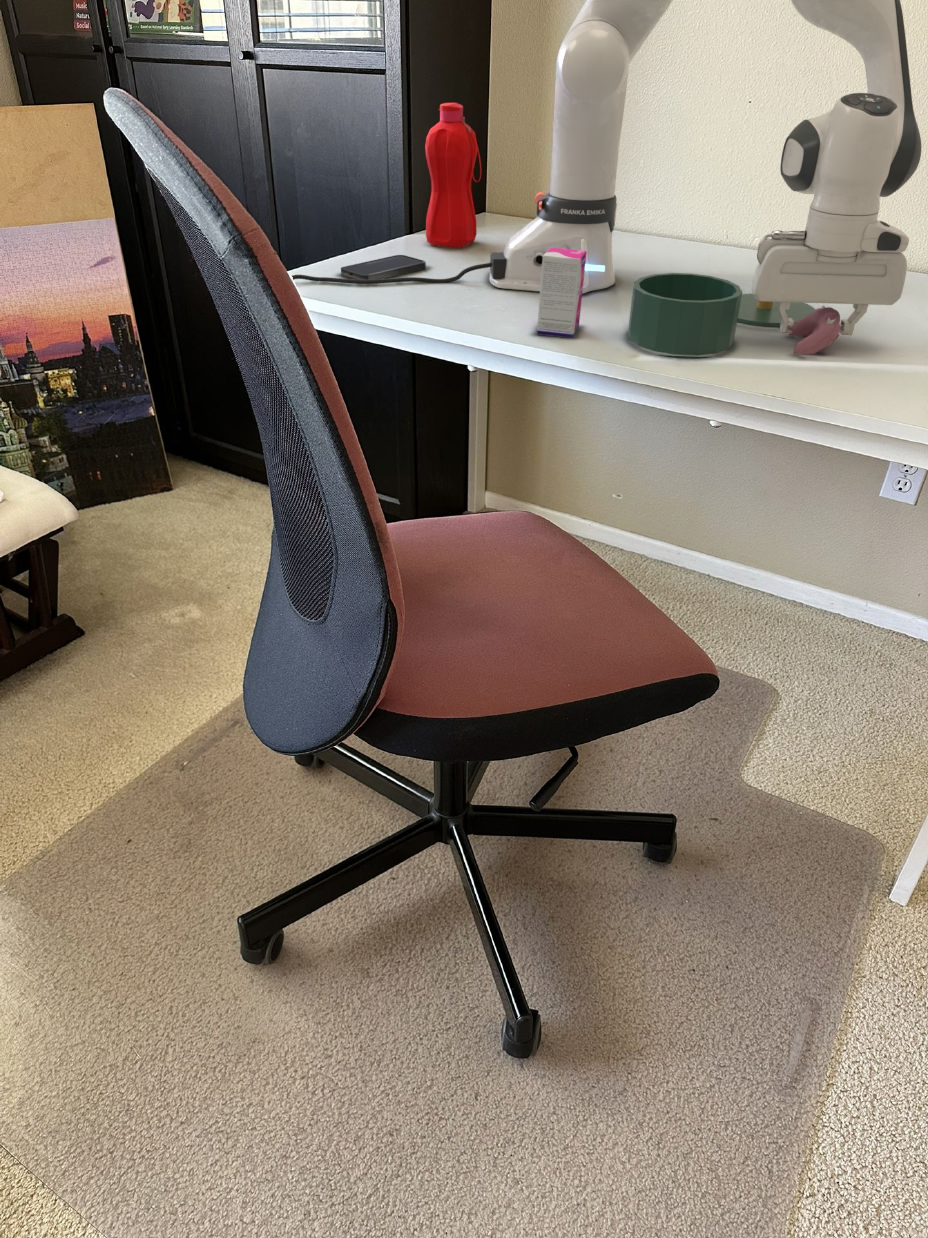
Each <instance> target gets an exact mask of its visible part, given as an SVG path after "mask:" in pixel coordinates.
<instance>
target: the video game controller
mask: <svg viewBox="0 0 928 1238" xmlns="http://www.w3.org/2000/svg"><path fill="white" fill-rule="evenodd" d="M840 314H841V313H840V312H839V311H837V310H836V309H834V308H833V307H829V306H827V307H826V306H825V305H824V304H823V305H821V307H819V308H818V307H817V308H816V309H815V311H814V312H813V313H811V314H810V315H809V316H807V317H805V318H804V319H802V320H800V321H798V322H797V323H795V324H794V326H793V327H792V329H793V331H792V333H788V335H789V336H792V337H796V338H797V337H798V338H802V339H801V340H800V341H799V342H798V343H796V344H795V346H794V348H793V353H794V354H796V355H802V356H803V355H804V356H805V355H806V356H812V355H814V354H817V353H818V352H820V351H822V350H823V349H825V348H826V347H829V346H830V345H831V344H832V343H835V342H837V341H838V340H839V339H840V335H841V334H840V333H839V332H840V329H841V315H840Z"/></svg>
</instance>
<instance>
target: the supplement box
mask: <svg viewBox="0 0 928 1238" xmlns="http://www.w3.org/2000/svg"><path fill="white" fill-rule="evenodd" d="M586 253H587V252H586V251H582V250H570V249H560V248H550V249H549V250H548V251H547V252H546V253H545V254H544V255H543V261H542V273H541V286H540V291H539V299H538V300H539V301H538V314H537V325H536V335H537V336H538V335H539V336H547V337H548V336H549V337H558V338H568V339H569V338H570V339H572V338H573V337H574V335H575V334H576V331H577V330H578V329H579V327H580V320H581V310H582V299H583V294H582V291H583V282H584V272H585V262H586Z"/></svg>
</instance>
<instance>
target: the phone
mask: <svg viewBox="0 0 928 1238" xmlns="http://www.w3.org/2000/svg"><path fill="white" fill-rule="evenodd" d="M426 263H427V261H426V260H424V259H420V258H417V257H412V256H408V255H405V254H396V255H390V256H386V257H382V258H376V259H373V260H368V261H363V262H359V263H355V264H350V265H345V266H344V265H343V266H341V267H340V275H341V276H343V277H346V278H348V279H357V280H374V279H389V278H392V277H396V276H400V275H404V274H409V273H412V272H417V271H421V270H425V269H426V268H427V264H426Z"/></svg>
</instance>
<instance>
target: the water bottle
mask: <svg viewBox="0 0 928 1238" xmlns="http://www.w3.org/2000/svg"><path fill="white" fill-rule="evenodd" d="M438 111H439V122H437V123H436V124H435V125H433V126H432V127H431V128H430V129H429V131H428V134H427V136H426V138H425V147H424V148H425V149H424V150H425V158H426V162H427V168H428V171H429V176H430V180H431V193H430V197H429V204H428V208H427V213H426V219H425V238H426V242H427V243H428V244H429V245H430V246H433V247H441V248H450V249H462V248H465V247H466V246H469V245H471V244H473V243H474V242H475V241H476V238H477V234H478V232H477V217H476V216H477V215H476V211H475V206H474V205H475V204H474V200H473V193H472V179H473V181H474V182H475V183H478V182H480V180H481V178H482V162H481V155H480V150H479V146H478V142H477V137H476V132H475V131H474V130H473V128H471V126H470V125H469V124H468V123H466V121H465V119H466V117H465V116H464V106H463V105H462V104H460V103H458V102H444V103H441V104H440V105H439V109H438ZM477 155H478V160H479V178H478V180H476V179H475V177H474V170H475V164H476V160H477Z"/></svg>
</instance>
